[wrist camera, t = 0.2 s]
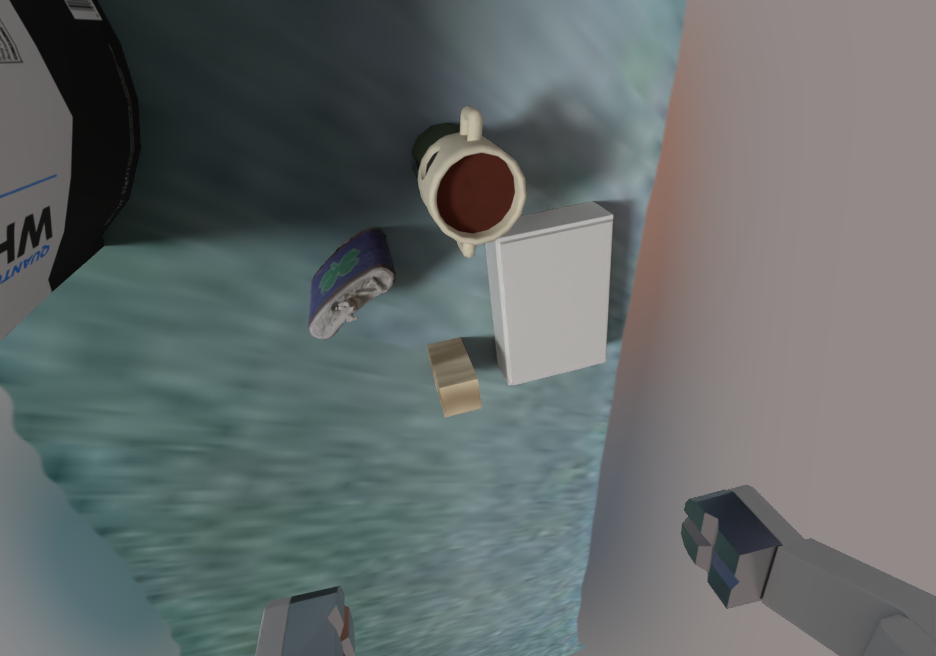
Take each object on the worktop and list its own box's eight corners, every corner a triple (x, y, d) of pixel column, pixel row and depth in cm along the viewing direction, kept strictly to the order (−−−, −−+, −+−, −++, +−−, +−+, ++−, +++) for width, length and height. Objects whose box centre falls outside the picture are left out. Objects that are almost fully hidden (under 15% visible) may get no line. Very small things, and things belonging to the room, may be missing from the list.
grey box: (482, 223, 49) (496, 241, 44) (593, 201, 50) (616, 216, 46) (497, 363, 58) (510, 388, 54) (589, 341, 60) (608, 364, 56)
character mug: (404, 91, 41) (429, 113, 30) (484, 93, 42) (536, 114, 32) (407, 216, 46) (429, 272, 36) (478, 214, 48) (519, 267, 37)
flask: (324, 298, 49) (322, 357, 40) (301, 280, 47) (294, 336, 38) (391, 240, 47) (405, 287, 38) (371, 218, 46) (380, 263, 37)
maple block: (426, 345, 55) (439, 388, 48) (460, 337, 55) (477, 378, 49) (432, 372, 57) (445, 417, 50) (464, 364, 57) (481, 407, 51)
